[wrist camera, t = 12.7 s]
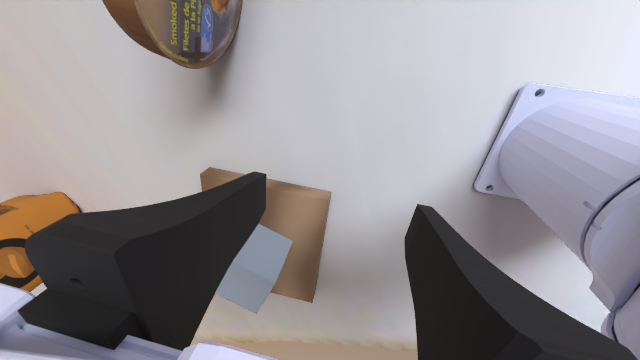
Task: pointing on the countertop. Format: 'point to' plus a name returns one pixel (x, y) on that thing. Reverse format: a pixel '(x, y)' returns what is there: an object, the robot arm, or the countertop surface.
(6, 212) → the coffee package
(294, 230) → the walnut board
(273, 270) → the slate cube
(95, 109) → the countertop surface
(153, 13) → the tin
